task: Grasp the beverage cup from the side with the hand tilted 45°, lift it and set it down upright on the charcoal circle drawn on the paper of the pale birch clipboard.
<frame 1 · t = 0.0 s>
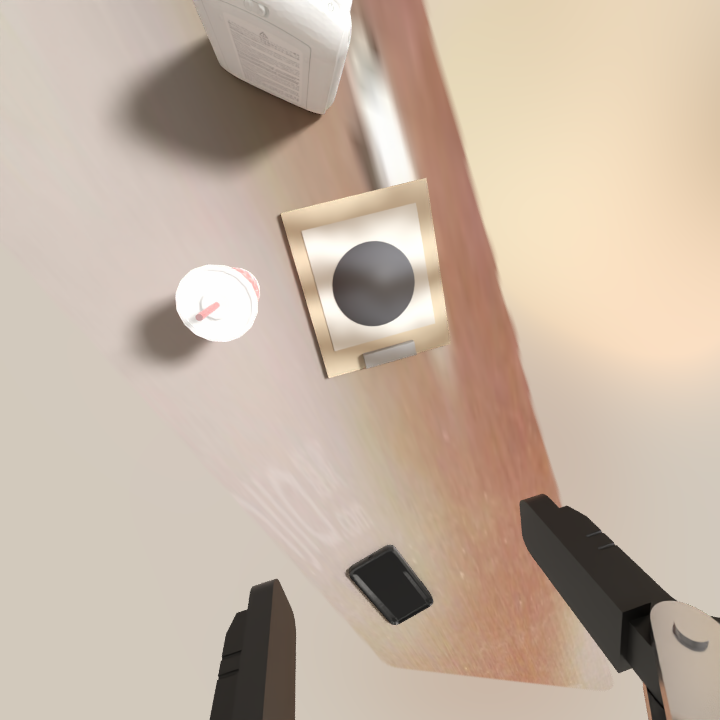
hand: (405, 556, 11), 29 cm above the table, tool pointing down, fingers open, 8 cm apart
phone: (391, 581, 53), on the table
beverage cup: (237, 290, 35), on the table
photo printer: (281, 73, 30), on the table
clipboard: (373, 284, 37), on the table
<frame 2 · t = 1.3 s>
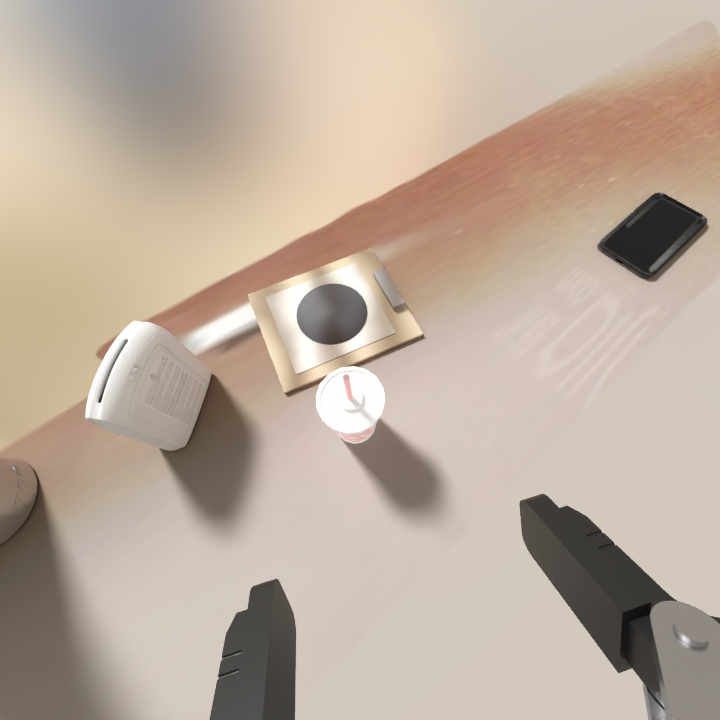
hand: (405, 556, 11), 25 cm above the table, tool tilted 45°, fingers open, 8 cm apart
phone: (647, 238, 48), on the table
beverage cup: (355, 423, 38), on the table
photo printer: (187, 406, 40), on the table
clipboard: (332, 315, 44), on the table
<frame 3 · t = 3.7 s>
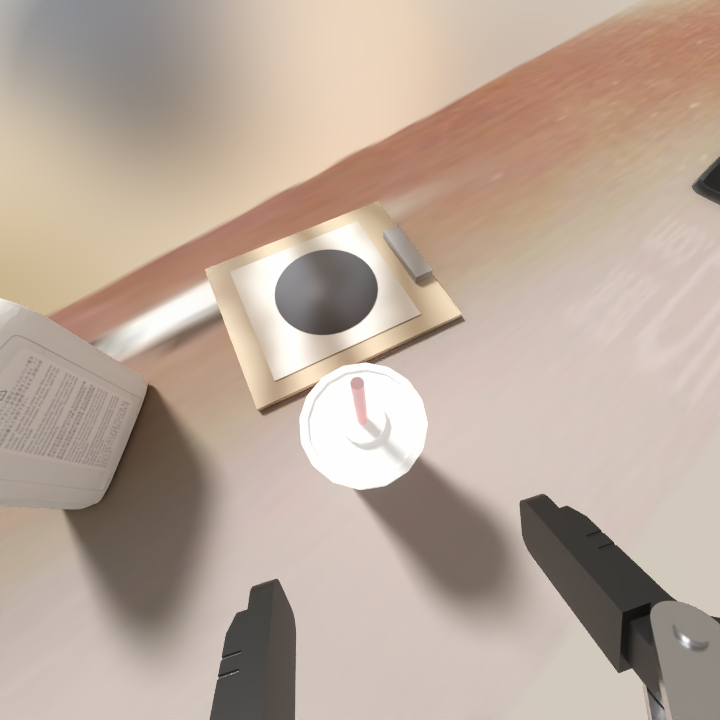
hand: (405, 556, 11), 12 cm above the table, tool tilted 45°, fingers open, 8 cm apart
beverage cup: (367, 453, 25), on the table
photo printer: (109, 436, 26), on the table
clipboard: (326, 293, 30), on the table
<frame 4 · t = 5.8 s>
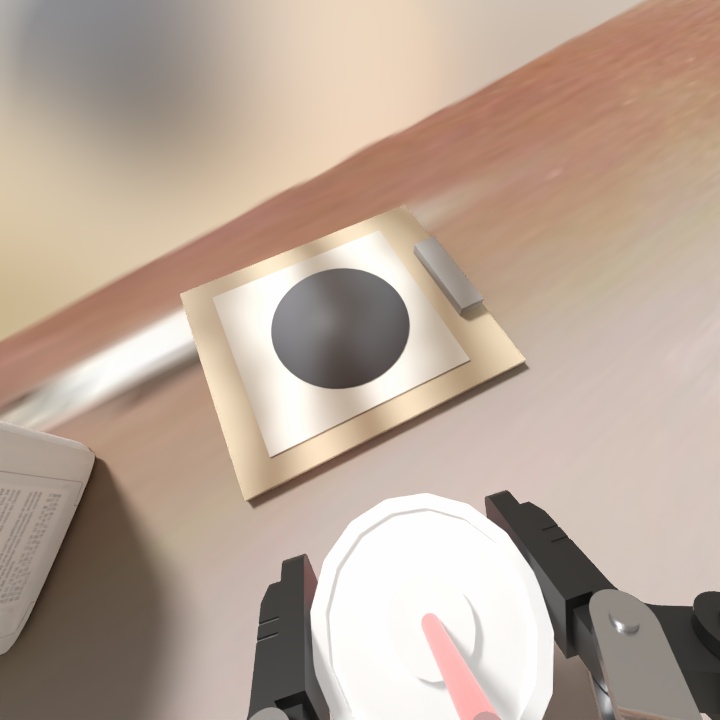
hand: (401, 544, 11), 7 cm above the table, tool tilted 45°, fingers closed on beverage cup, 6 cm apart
beverage cup: (403, 571, 17), on the table, touching gripper
photo printer: (37, 535, 18), on the table
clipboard: (340, 328, 23), on the table
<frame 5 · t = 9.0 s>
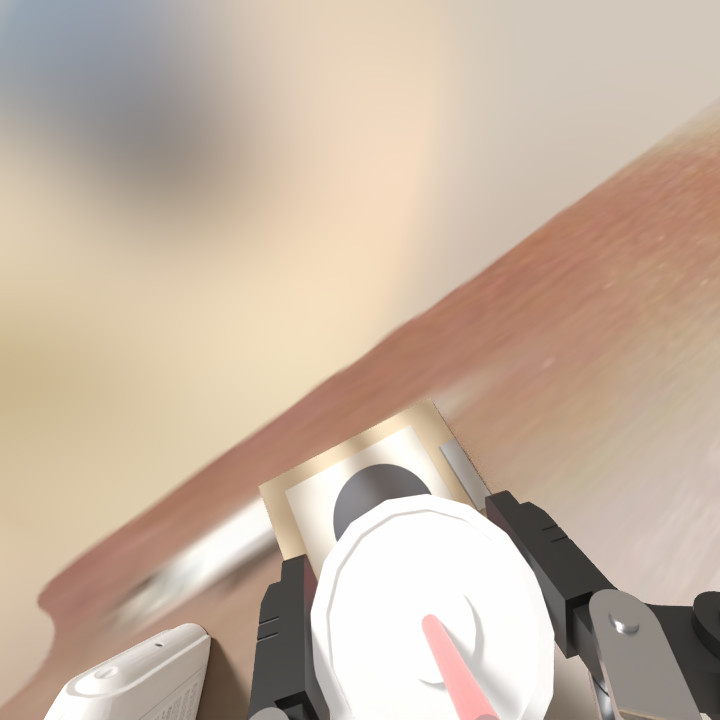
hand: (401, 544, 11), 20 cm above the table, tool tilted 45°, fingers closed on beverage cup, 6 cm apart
beverage cup: (403, 571, 17), point 13 cm above the table, touching gripper
photo printer: (175, 703, 25), on the table
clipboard: (385, 518, 30), on the table
when the fingers open (9 cm above the table, at t = 12.5 s): beverage cup drops 1 cm, resting on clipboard.
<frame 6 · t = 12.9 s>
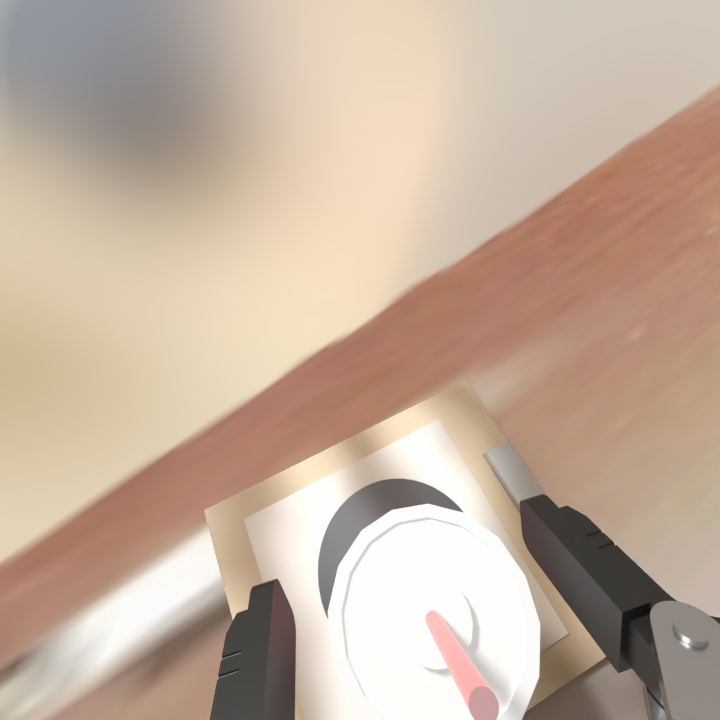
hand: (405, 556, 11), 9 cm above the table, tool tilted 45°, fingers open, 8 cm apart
beverage cup: (405, 571, 18), resting on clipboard
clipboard: (400, 565, 19), on the table
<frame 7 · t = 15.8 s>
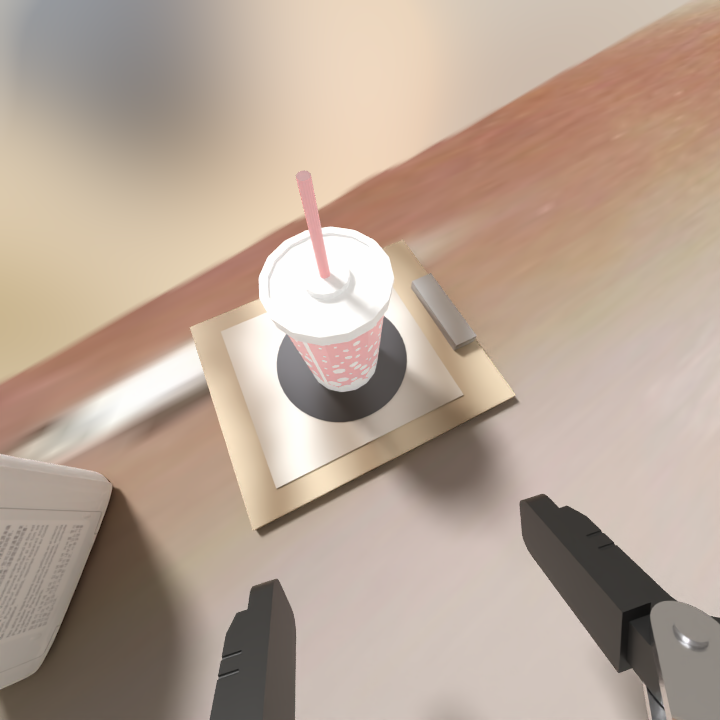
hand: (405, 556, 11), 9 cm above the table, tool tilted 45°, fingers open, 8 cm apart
beverage cup: (344, 361, 24), resting on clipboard
photo printer: (60, 561, 20), on the table
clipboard: (342, 361, 24), on the table
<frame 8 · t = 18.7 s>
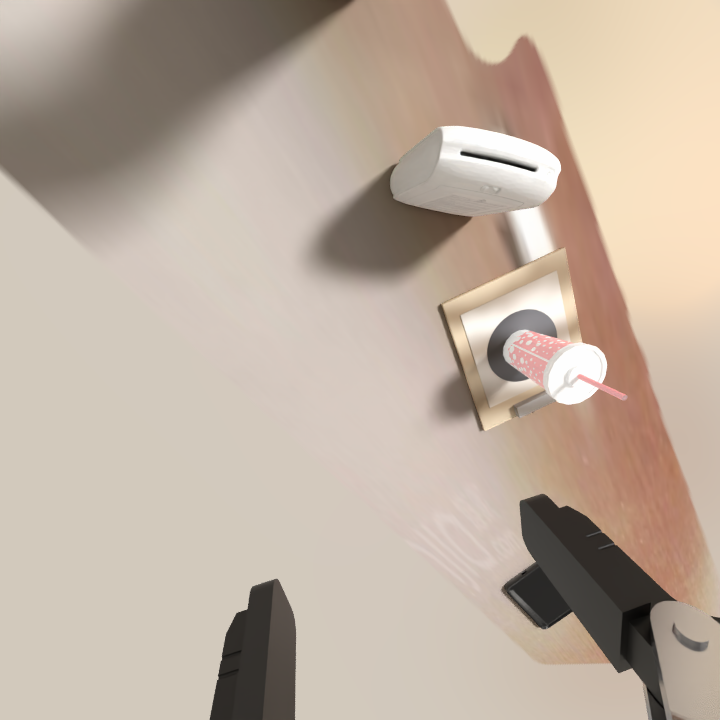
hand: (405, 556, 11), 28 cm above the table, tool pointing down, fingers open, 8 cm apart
phone: (539, 590, 58), on the table
beverage cup: (519, 347, 41), resting on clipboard
photo printer: (437, 189, 34), on the table
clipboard: (519, 345, 41), on the table
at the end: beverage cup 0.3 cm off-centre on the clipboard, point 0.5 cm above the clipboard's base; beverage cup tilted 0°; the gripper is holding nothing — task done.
